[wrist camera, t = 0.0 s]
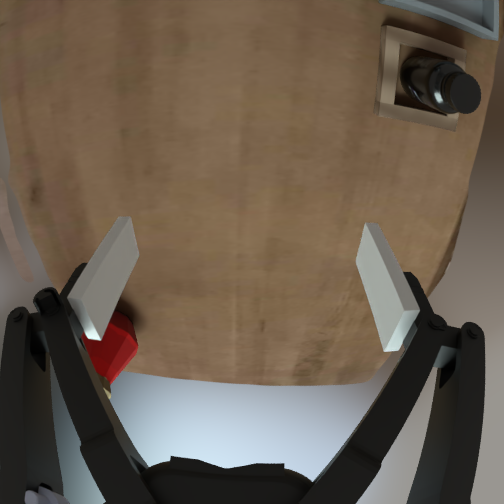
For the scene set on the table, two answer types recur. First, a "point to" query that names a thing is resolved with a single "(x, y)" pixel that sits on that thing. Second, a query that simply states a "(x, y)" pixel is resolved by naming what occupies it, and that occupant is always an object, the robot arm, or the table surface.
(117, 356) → the bottle
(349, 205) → the table surface
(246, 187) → the table surface
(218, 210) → the table surface
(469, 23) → the bin
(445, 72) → the supplement bottle
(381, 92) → the socket collar
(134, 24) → the table surface
